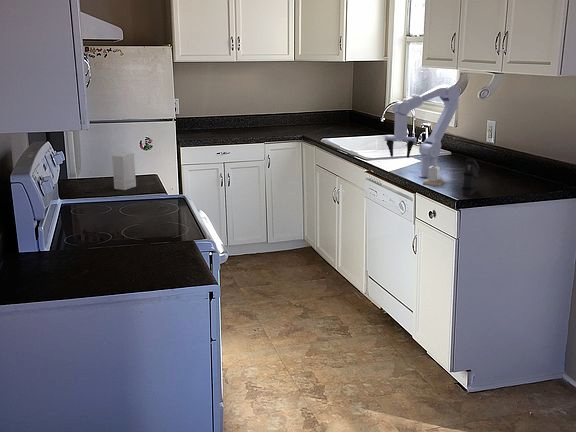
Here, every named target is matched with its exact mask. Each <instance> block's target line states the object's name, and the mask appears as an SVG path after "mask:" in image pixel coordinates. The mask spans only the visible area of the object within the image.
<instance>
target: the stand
mask: <svg viewBox="0 0 576 432" xmlns="http://www.w3.org/2000/svg"><path fill="white" fill-rule="evenodd" d="M444 183H445V180H444V179H443V178H439V180H438V181H437V182H434V181H428V177H426V179H424V180H423V182H422V185H426V186H440V187H441V186H442V185H443V184H444Z"/></svg>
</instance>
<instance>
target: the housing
mask: <svg viewBox="0 0 576 432" xmlns="http://www.w3.org/2000/svg"><path fill="white" fill-rule="evenodd" d="M440 169H441V168H440V166H438V165H437V166H436V165H434V166H430V167H429V168H428V177H427V178H428V181H434V182H437V181H438V180H439V179H440Z"/></svg>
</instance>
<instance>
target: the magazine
mask: <svg viewBox="0 0 576 432" xmlns="http://www.w3.org/2000/svg"><path fill="white" fill-rule="evenodd" d="M464 163H465V170H464V172H463V176H464V177H463V186H462V187H461V188H462V189H461V190H462V195H463V196H464V195H465V196H466V197H471V196H472V195H473V194H474V193H477V188H479V186H478V180H479V172H480V170H481V169H480V166H479V164H478V162H477V161H476V160H475V159H474V158H466V160H465V161H464Z"/></svg>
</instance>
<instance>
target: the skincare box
mask: <svg viewBox="0 0 576 432" xmlns="http://www.w3.org/2000/svg"><path fill="white" fill-rule="evenodd" d="M111 161H112V163H111V164H112V175H113V176H112V177H113V187H114V190H120V191H121V190H122V191H126V190H129V189H132V188H135V187H137V180H136V179H137V178H136V168H135V167H136V166H135V154H134V153H133V152H121V153H116V154H112V155H111Z"/></svg>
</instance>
